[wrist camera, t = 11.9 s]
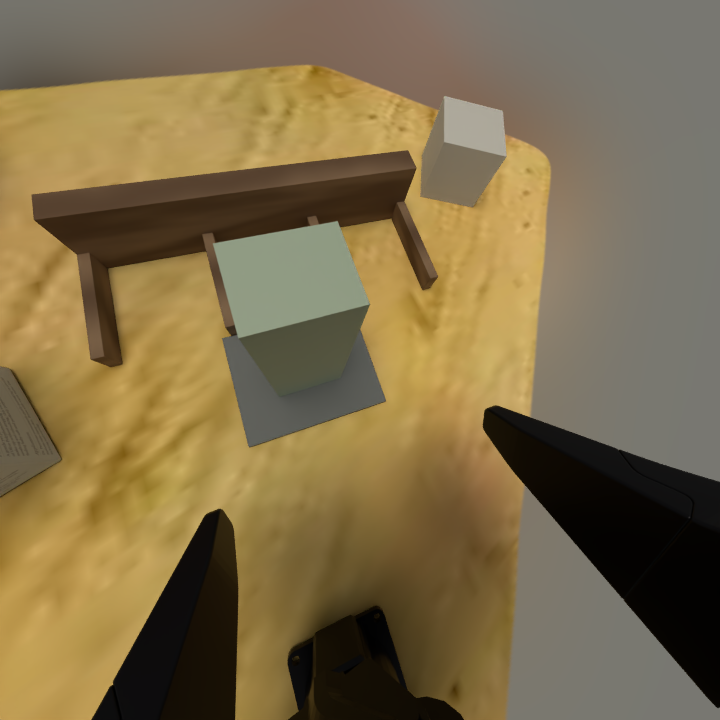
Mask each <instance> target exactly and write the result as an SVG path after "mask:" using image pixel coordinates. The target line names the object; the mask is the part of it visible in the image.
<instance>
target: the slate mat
mask: <svg viewBox="0 0 720 720" xmlns="http://www.w3.org/2000/svg"><path fill="white" fill-rule="evenodd" d="M222 339H223V343H224V348H225V352H226V356H227V360H228V364H229V368H230V372H231V376H232V380H233V384H234V389H235V393H236V397H237V401H238V405H239V409H240V413H241V417H242V421H243V425H244V430H245V434H246V438H247V442H248V446H249V447H252V446H255V445H258V444H261V443H264V442H267V441H270V440H273V439H276V438H278V437H281V436H284V435H287V434H290V433H293V432H296V431H299V430H302V429H305V428H308V427H311V426H314V425H317V424H320V423H323V422H326V421H329V420H332V419H335V418H338V417H341V416H344V415H347V414H350V413H353V412H355V411H358V410H361V409H364V408H367V407H370V406H373V405H376V404H379V403H382V402H385V401H386V399H385V397H384V394H383V391H382V388H381V385H380V383H379V380H378V377H377V374H376V372H375V369H374V366H373V363H372V361H371V358H370V355H369V352H368V350H367V347H366V344H365V341H364V339H363V336H362V333H361V330H359V333H358V335H357V338H356V340H355V343H354V345H353V348H352V350H351V353H350V355H349V358H348V360H347V363H346V365H345V368H344V370H343V373H342V375H341V378H339V379H336V380H333V381H330V382H326V383H323V384H320V385H317V386H314V387H311V388H307V389H304V390H301V391H298V392H295V393H291V394H288V395H285V396H282V397H279V396H278V394H277V393H276V392H275V390H274V389H273V387H272V386H271V384H270V383H269V382H268V380H267V379H266V377H265V376H264V374H263V373H262V371H261V370H260V369H259V367H258V366H257V364H256V363H255V361H254V360H253V359H252V357H251V356H250V354H249V353H248V351H247V350H246V348H245V347H244V346H243V344H242V343H241V341H240V340H239V338H238V335H234V336H230V337H226V338H222Z"/></svg>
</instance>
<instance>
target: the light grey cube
mask: <svg viewBox="0 0 720 720" xmlns="http://www.w3.org/2000/svg"><path fill="white" fill-rule="evenodd" d="M505 158H506V145H505V132H504V121H503V111H501V110H497V109H493V108H489V107H485V106H481V105H477V104H473V103H470V102H466V101H462V100H458V99H454V98H450V97H446V96H444V98H443V101H442V104H441V106H440V109H439V111H438V114H437V117H436V119H435V122H434V125H433V127H432V130H431V133H430V135H429V138H428V141H427V143H426V146H425V149H424V151H423V154H422V168H421V196H420V197H425V198H430V199H434V200H439V201H444V202H449V203H454V204H459V205H463V206H468V207H473V206H474V204H475V203H476V201H477V200H478V198H479V197H480V195H481V194H482V192H483V191H484V189H485V188H486V186H487V185H488V183H489V182H490V181H491V179H492V178H493V176H494V175H495V173H496V172H497V170H498V169H499V167H500V166H501V164H502V163H503V161H504V160H505Z"/></svg>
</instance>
